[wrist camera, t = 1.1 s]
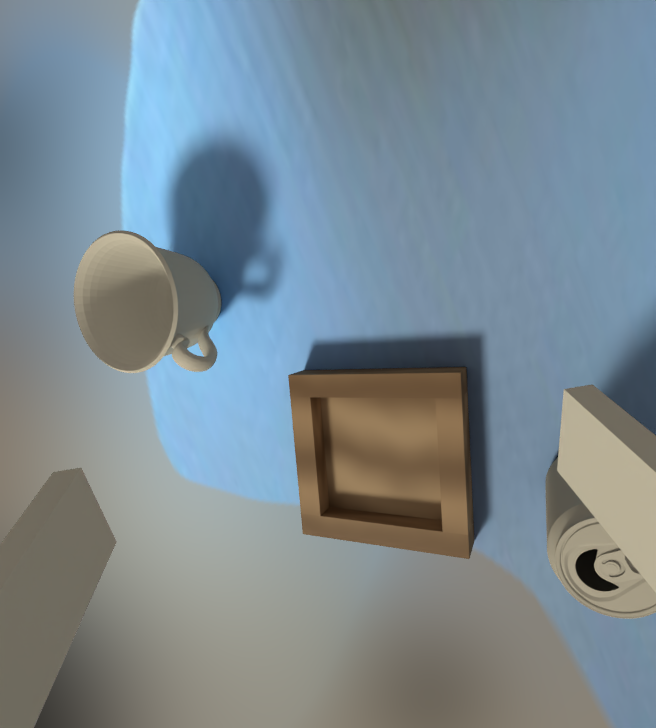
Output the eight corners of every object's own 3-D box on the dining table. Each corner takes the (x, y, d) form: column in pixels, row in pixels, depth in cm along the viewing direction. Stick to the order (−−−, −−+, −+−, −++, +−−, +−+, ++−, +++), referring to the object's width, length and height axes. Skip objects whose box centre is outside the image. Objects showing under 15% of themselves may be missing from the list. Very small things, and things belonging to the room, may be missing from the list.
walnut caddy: (303, 370, 44) (288, 375, 41) (466, 366, 38) (460, 372, 35) (317, 519, 46) (302, 533, 43) (474, 540, 39) (469, 558, 37)
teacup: (231, 399, 48) (159, 424, 39) (140, 312, 52) (56, 316, 43) (289, 306, 44) (224, 310, 35) (186, 218, 47) (102, 201, 38)
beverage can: (529, 462, 37) (524, 532, 26) (614, 429, 34) (647, 493, 23) (571, 535, 36) (583, 638, 25) (660, 508, 33) (716, 611, 23)
